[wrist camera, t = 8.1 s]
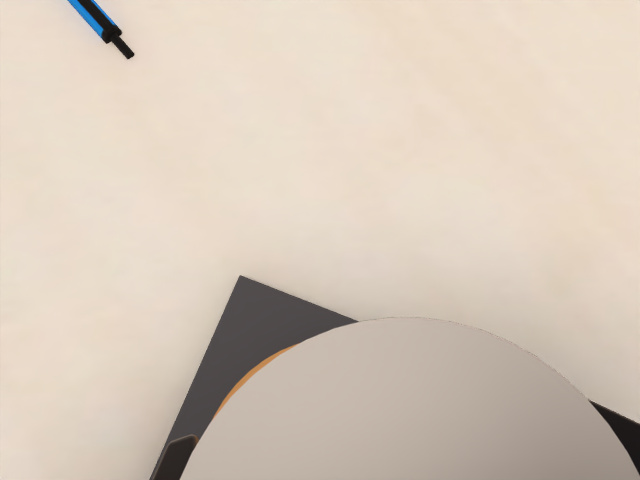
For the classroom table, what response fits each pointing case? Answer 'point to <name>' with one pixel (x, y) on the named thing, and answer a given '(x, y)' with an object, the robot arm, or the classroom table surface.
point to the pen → (101, 24)
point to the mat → (247, 347)
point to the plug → (407, 412)
